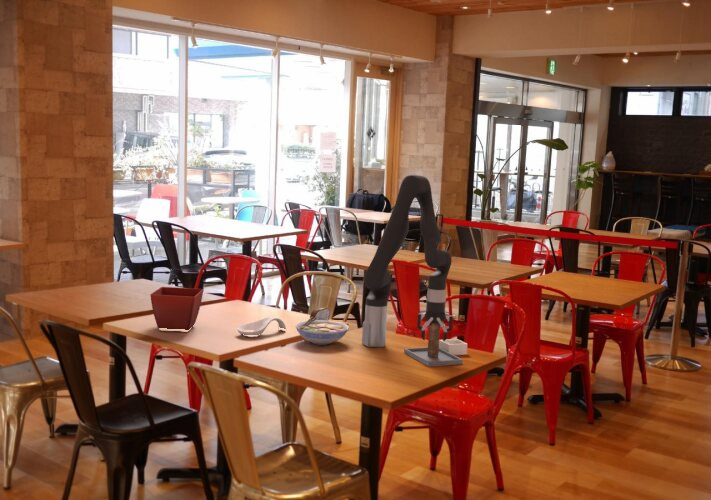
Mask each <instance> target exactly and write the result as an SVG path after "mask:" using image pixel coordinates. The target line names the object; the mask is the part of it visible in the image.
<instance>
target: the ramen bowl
mask: <svg viewBox="0 0 711 500" xmlns="http://www.w3.org/2000/svg"><path fill="white" fill-rule="evenodd" d="M312 318H313V317H311V318H310V317H309V318H308V319H307V320H304V321H303V320H302V321H299V322H297V323H295V326H294V327H295V329H296V330H297V332H298V334H299V335H300V336H301V338H303V339H305V340H306V341H308V342H311V343H313V344H314V345H318V346H325V345H327V346H328V345H330V344H331V343H335V342H337V341H339V340H341V339H343V338H344V336H345V335H346V334H347V333H348V330H349V328H350V326H349V325H348V324H346V323H344V322H339V321H333V320H329V321H323V320H315V319H316V318H317V317H315V318H314V319H312ZM311 319H312V320H311ZM310 320H311V321H310Z"/></svg>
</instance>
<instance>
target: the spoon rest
mask: <svg viewBox="0 0 711 500" xmlns="http://www.w3.org/2000/svg"><path fill="white" fill-rule="evenodd" d="M273 321H276V322H277V323H278V328H279V327H280V328H284V329H286V330H287V327H286V325H285V322H284V320H282V319H281V318H277V317H275V316H267V317H264V318H262V319H259V320H256V321H254V322H250V323H246V324H242V325H240V326H237V328H236V330H237V332H238V333H239V334H240V335H241V334H244V335H259V334H261V335H262V334H263V333H264V331H265V330H266V328H268V326H269V325H270V323H271V322H273ZM246 330H254V331H253V332H244V331H246ZM259 336H260V335H259Z"/></svg>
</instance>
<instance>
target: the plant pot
mask: <svg viewBox="0 0 711 500" xmlns="http://www.w3.org/2000/svg"><path fill="white" fill-rule="evenodd" d="M203 293H204V289H202V288H194V287H193V288H192V287H190V288H188V287H172V286H171V287H170V286H161V287H159V288H157V289H156V290H155V291H152V292H151V293H150V294H149V295H150V301H151V302H150V303H151V307H152V312H153V316H154V319H155V322H156V326H157V329H158V328H167V329H185V330H189V329H190V328H191V327H192V326H193V325H194V324H196V322H197V319H198V315H199V313H200V308H201V305H202V300H203ZM194 326H195V325H194Z"/></svg>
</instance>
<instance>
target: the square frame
mask: <svg viewBox="0 0 711 500" xmlns="http://www.w3.org/2000/svg"><path fill="white" fill-rule="evenodd" d="M439 348H441V349H443V350H445V351H447V352H449V353H451V354H453V355H455V356H462V355H463V356H464V355H468V343H467V342H464V341H462V340H460V339H458V338H451V339H450V338H449V339H448V338H447V339H446V340H445V341H443V339H439Z"/></svg>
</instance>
